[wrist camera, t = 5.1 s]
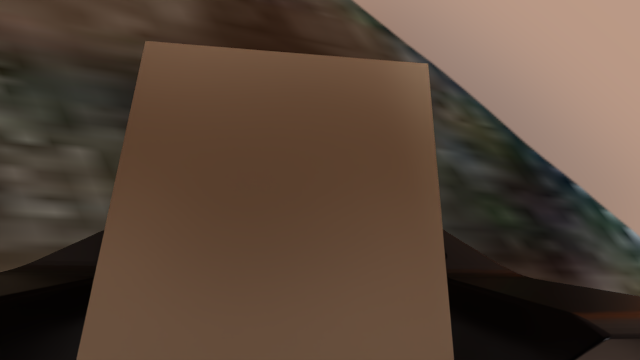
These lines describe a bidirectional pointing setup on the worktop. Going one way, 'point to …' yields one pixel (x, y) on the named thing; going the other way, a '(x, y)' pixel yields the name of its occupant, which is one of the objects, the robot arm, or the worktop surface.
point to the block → (273, 213)
